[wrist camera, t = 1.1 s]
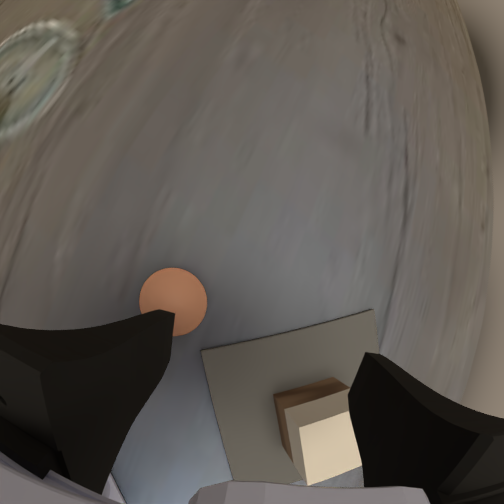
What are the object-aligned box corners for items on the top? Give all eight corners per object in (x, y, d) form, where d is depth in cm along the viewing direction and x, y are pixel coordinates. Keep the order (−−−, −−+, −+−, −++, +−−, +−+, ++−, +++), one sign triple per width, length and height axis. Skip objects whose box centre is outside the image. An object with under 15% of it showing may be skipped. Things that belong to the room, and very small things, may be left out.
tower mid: (293, 464, 19) (307, 485, 16) (284, 409, 19) (298, 427, 16) (354, 442, 20) (374, 459, 17) (350, 388, 20) (372, 401, 17)
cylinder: (154, 330, 21) (146, 340, 17) (143, 274, 21) (133, 273, 17) (208, 320, 22) (212, 329, 18) (198, 265, 22) (200, 262, 18)
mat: (238, 493, 21) (238, 496, 21) (200, 350, 22) (200, 351, 21) (381, 445, 24) (383, 447, 23) (371, 309, 24) (374, 309, 24)
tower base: (282, 446, 22) (293, 464, 19) (272, 394, 22) (284, 409, 19) (338, 427, 23) (354, 442, 20) (333, 376, 23) (350, 388, 20)
